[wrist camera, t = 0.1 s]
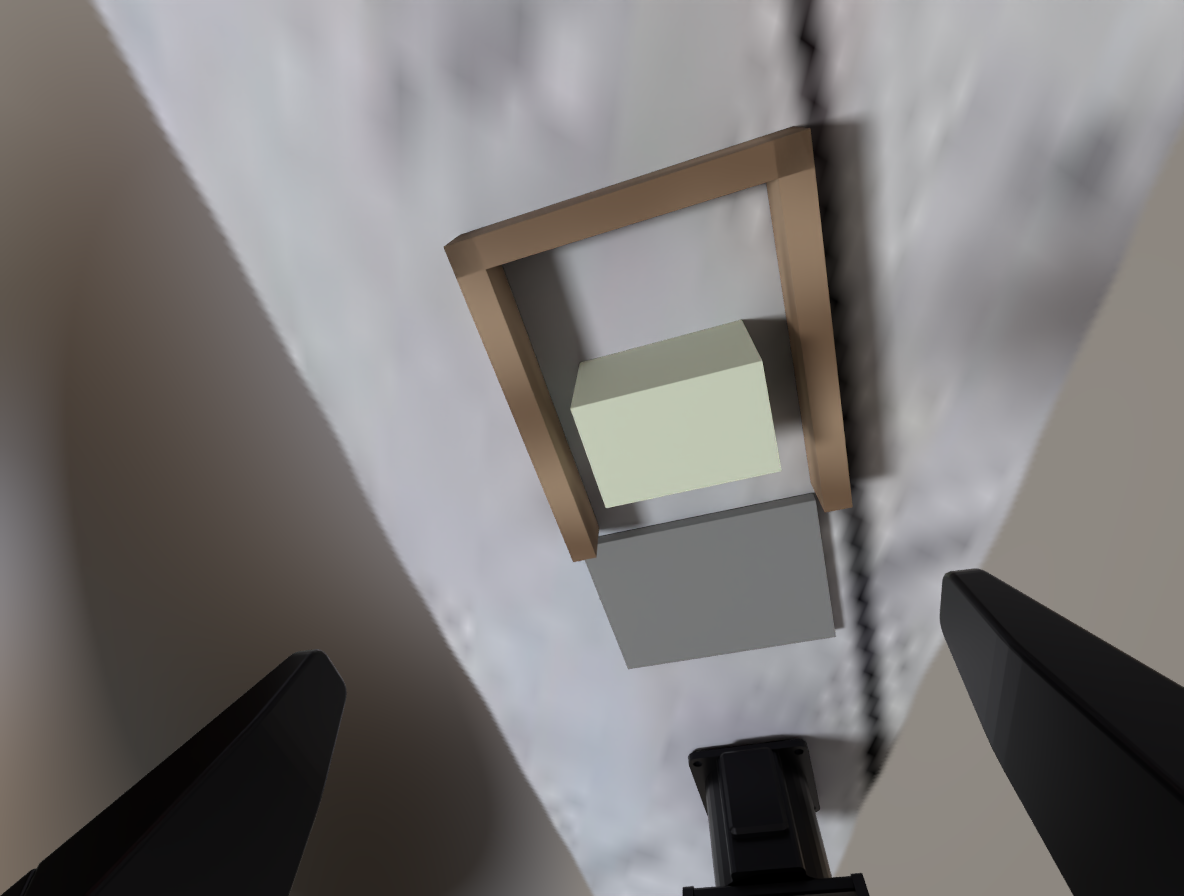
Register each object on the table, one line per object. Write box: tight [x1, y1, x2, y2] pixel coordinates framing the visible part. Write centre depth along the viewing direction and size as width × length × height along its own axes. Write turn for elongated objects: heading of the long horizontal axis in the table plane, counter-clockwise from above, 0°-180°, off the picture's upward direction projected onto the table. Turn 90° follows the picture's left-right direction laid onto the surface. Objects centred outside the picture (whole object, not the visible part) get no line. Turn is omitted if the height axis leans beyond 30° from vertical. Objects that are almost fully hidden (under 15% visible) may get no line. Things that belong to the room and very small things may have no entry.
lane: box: [444, 126, 852, 562], centre depth 21 cm, size 13×11×2 cm
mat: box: [585, 493, 836, 669], centre depth 27 cm, size 8×10×1 cm
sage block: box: [570, 320, 781, 508], centre depth 21 cm, size 4×6×4 cm, turn 107°
